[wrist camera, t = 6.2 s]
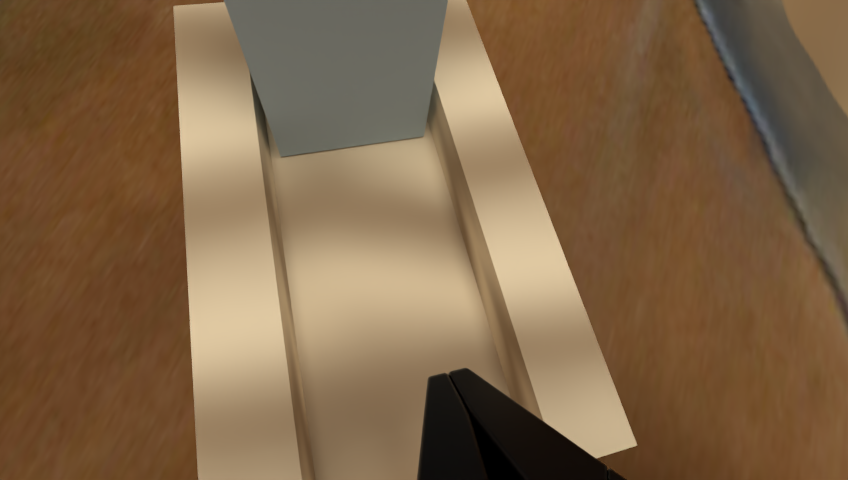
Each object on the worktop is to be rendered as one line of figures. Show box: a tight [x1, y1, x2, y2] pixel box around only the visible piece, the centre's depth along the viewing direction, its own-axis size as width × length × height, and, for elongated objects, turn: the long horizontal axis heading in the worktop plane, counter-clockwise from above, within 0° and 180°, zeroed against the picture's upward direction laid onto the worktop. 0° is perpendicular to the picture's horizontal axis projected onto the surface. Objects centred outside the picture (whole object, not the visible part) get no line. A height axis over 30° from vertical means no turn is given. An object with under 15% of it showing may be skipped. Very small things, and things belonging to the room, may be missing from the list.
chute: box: [173, 0, 637, 480], centre depth 16 cm, size 19×12×3 cm, turn 14°
